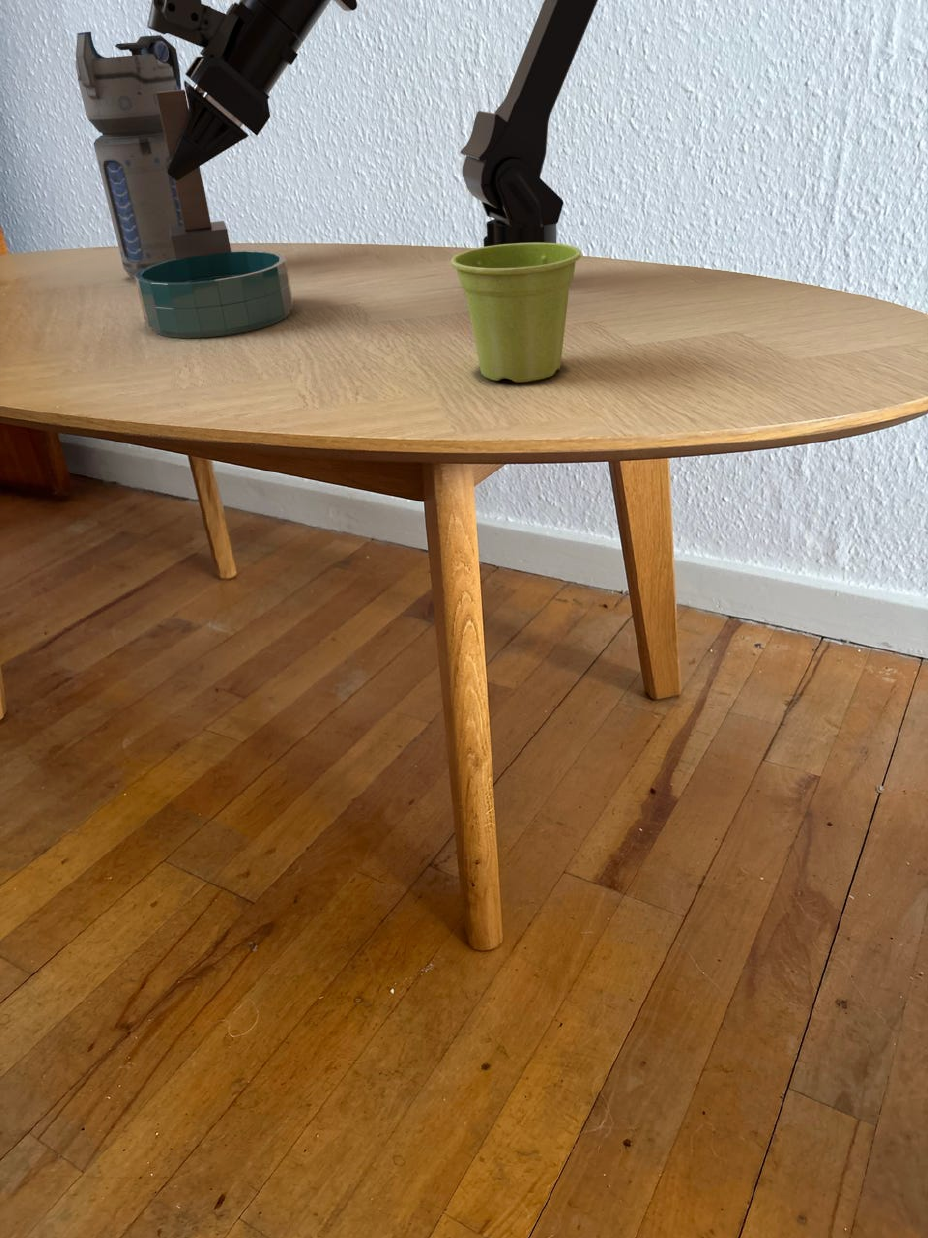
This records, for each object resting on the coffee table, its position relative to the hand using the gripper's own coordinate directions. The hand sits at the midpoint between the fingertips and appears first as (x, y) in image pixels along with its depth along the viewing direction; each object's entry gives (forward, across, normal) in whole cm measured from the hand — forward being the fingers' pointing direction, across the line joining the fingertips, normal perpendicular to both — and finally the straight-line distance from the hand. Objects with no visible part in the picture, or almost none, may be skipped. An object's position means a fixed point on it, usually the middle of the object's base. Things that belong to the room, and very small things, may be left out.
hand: (171, 174), depth 85 cm
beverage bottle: (+11, -29, +8) cm, 32 cm away
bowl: (+8, -3, +11) cm, 14 cm away
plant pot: (-6, +27, +26) cm, 38 cm away
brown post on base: (+4, 0, +6) cm, 7 cm away
